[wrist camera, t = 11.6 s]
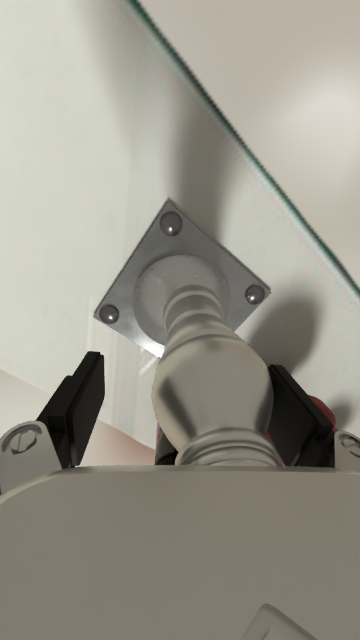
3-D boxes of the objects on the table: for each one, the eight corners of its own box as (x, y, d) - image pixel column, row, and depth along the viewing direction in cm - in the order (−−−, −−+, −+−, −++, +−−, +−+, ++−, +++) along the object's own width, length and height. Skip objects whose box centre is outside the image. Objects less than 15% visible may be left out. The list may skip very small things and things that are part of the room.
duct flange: (94, 315, 25) (91, 318, 24) (168, 202, 21) (168, 200, 20) (190, 374, 30) (191, 379, 29) (270, 291, 25) (273, 293, 24)
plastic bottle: (154, 315, 25) (89, 551, 6) (183, 268, 22) (218, 414, 4) (197, 339, 26) (248, 589, 8) (228, 297, 24) (407, 503, 5)
